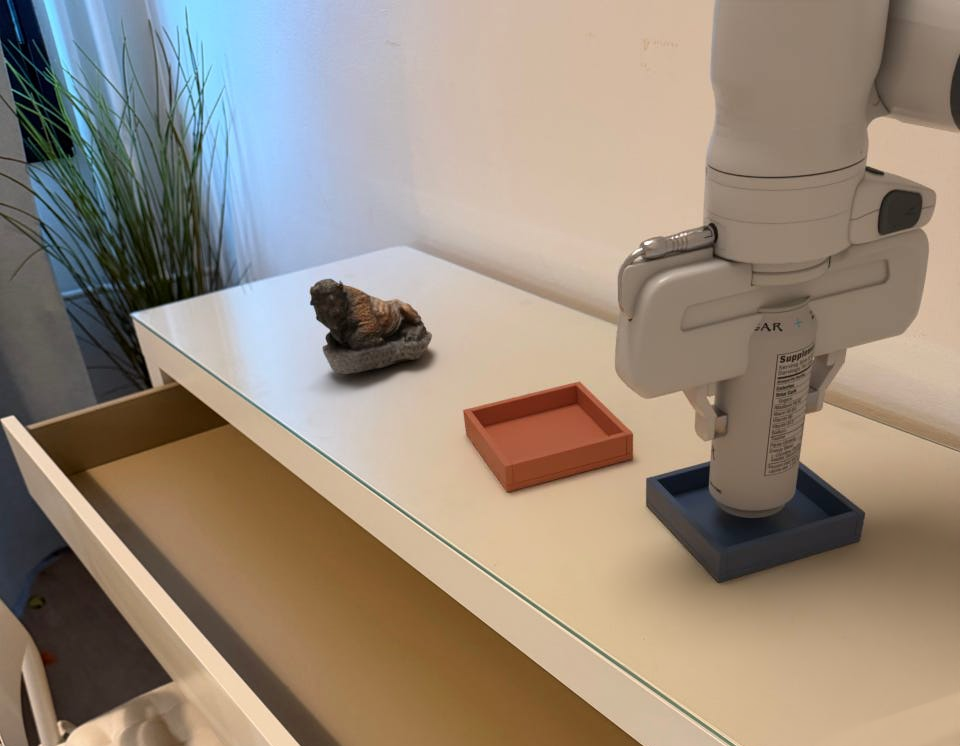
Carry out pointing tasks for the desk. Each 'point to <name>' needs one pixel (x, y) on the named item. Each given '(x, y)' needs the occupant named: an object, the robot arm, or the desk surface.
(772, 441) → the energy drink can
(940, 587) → the desk surface
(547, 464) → the terracotta tray
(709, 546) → the slate tray
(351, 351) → the bison figurine
